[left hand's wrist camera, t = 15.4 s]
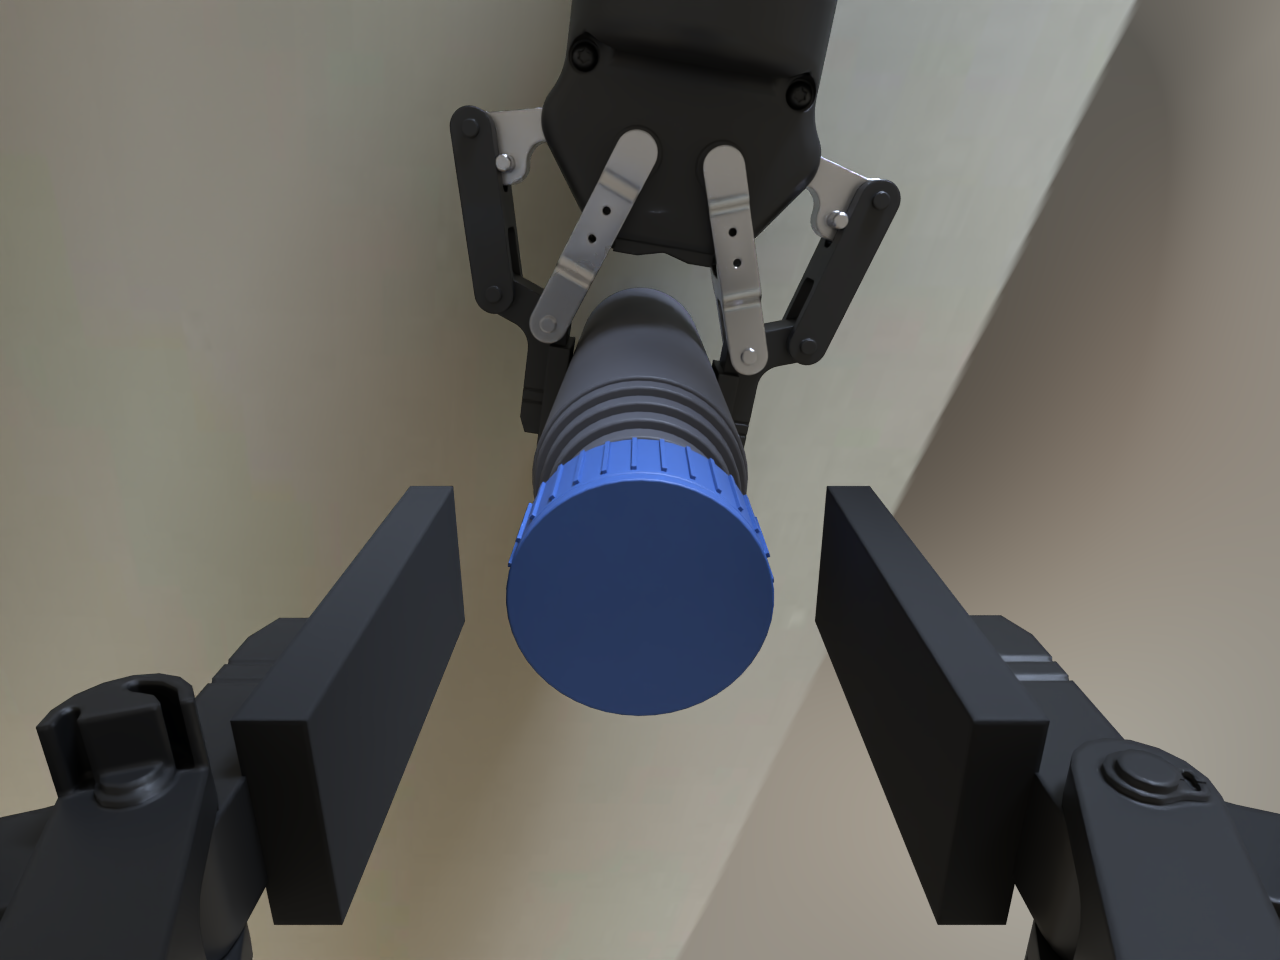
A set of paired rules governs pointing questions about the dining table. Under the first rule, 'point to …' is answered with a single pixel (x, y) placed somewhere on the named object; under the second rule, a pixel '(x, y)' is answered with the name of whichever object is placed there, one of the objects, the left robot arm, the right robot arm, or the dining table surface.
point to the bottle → (640, 388)
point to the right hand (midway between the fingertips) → (629, 456)
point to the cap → (640, 579)
